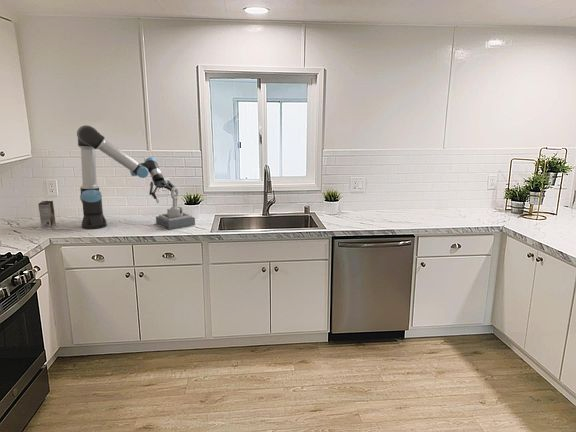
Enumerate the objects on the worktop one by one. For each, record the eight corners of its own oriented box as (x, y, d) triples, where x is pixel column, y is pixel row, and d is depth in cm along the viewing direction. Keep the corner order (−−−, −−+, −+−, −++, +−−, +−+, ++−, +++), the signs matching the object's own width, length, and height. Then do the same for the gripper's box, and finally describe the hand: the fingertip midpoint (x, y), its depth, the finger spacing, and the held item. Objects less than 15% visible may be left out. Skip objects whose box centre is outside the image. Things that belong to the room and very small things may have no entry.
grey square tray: (156, 223, 291) (155, 214, 290) (181, 219, 303) (181, 210, 302) (168, 229, 277) (168, 219, 276) (195, 225, 290) (194, 215, 288)
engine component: (164, 218, 285) (179, 219, 283) (163, 188, 280) (177, 189, 279) (172, 214, 296) (185, 215, 294) (170, 185, 291) (184, 186, 289)
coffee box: (45, 224, 285) (42, 200, 282) (56, 224, 287) (53, 200, 283) (40, 228, 277) (37, 203, 273) (51, 227, 278) (48, 203, 274)
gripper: (172, 178, 312) (182, 201, 305) (138, 181, 297) (148, 206, 289) (175, 172, 307) (185, 195, 300) (141, 174, 291) (151, 199, 284)
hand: (167, 201), depth 294 cm, fingers open, 13 cm apart
